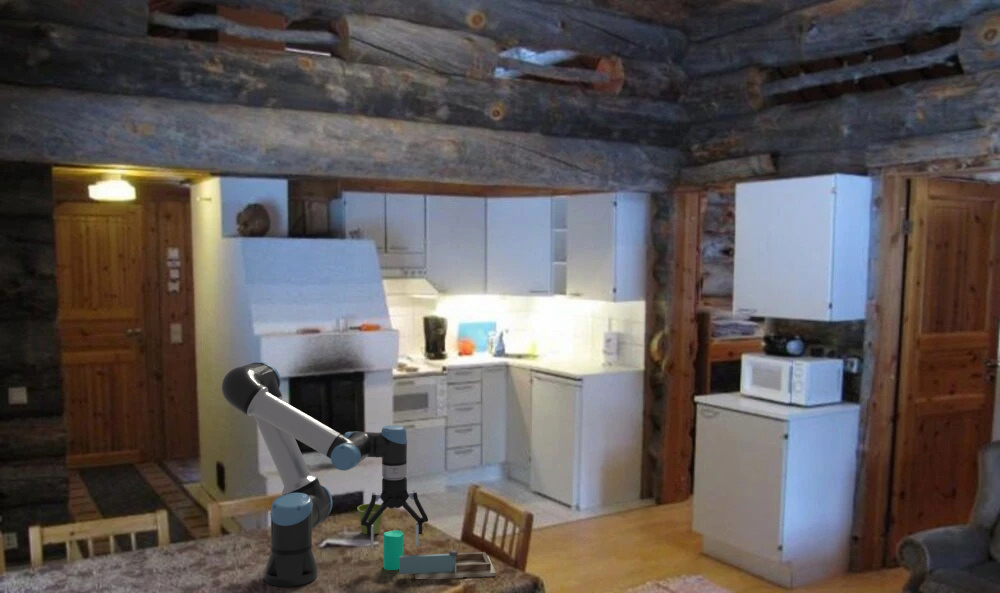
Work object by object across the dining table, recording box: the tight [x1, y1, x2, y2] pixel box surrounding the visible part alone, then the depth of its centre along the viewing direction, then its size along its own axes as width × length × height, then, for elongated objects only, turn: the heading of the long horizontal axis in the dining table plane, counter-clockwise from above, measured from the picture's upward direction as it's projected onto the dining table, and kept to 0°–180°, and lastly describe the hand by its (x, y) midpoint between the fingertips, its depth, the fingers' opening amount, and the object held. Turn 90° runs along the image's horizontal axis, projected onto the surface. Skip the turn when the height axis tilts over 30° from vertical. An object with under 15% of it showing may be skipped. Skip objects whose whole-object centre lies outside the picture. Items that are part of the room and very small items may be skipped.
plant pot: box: [357, 503, 384, 535], centre depth 279 cm, size 9×9×9 cm
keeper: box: [398, 549, 459, 575], centre depth 242 cm, size 2×17×6 cm, turn 100°
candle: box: [382, 528, 404, 571], centre depth 249 cm, size 6×6×12 cm
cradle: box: [413, 551, 497, 580], centre depth 248 cm, size 24×14×3 cm, turn 100°
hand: (394, 545), depth 249 cm, fingers open, 13 cm apart
